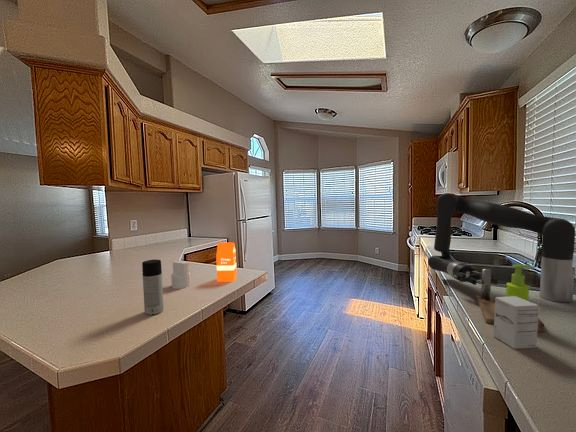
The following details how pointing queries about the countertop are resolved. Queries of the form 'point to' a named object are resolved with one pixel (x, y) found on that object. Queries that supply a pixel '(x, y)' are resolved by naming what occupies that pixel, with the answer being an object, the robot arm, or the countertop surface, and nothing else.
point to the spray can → (152, 286)
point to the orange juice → (226, 262)
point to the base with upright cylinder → (488, 303)
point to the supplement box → (516, 322)
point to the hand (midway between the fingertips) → (486, 282)
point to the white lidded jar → (181, 275)
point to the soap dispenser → (518, 283)
